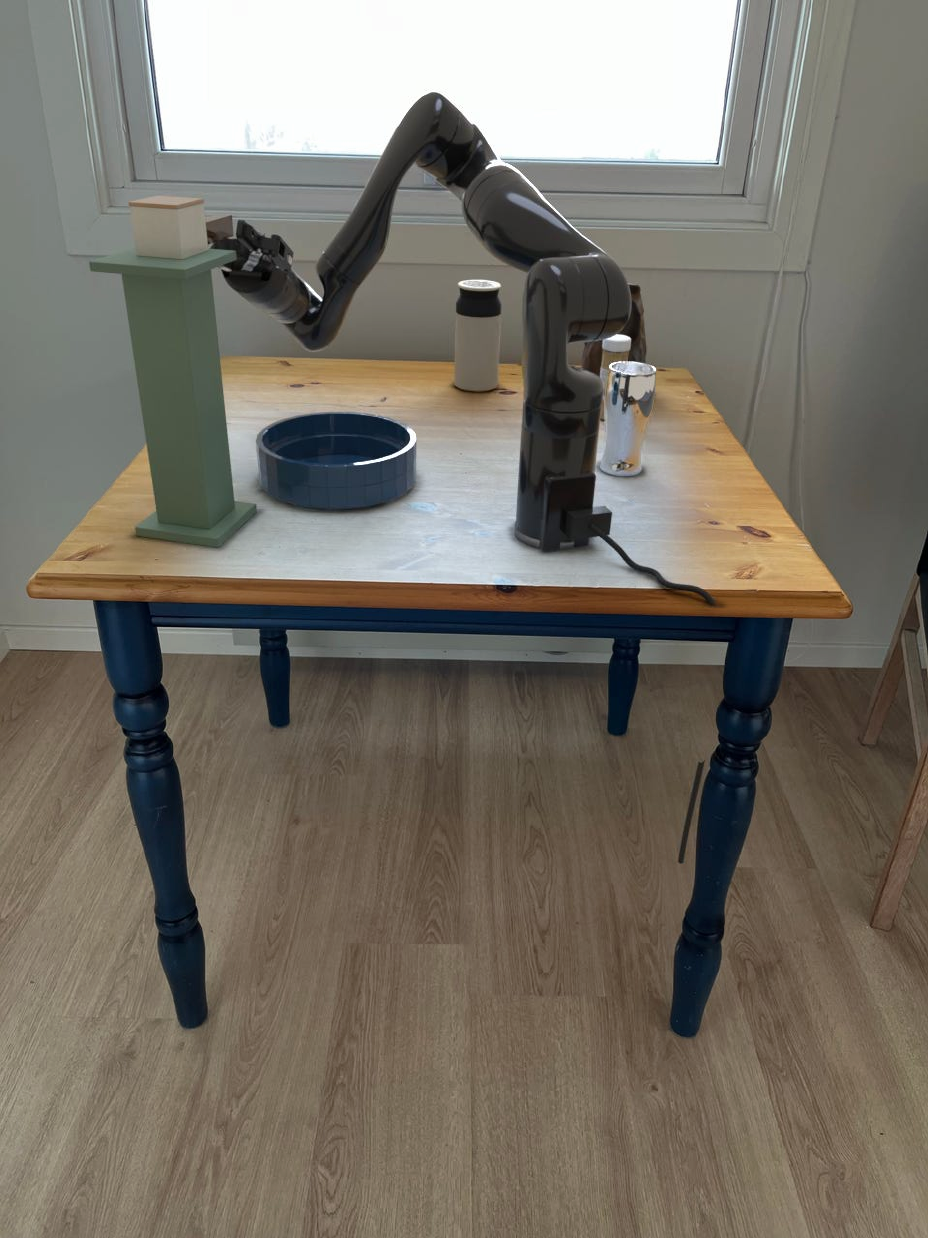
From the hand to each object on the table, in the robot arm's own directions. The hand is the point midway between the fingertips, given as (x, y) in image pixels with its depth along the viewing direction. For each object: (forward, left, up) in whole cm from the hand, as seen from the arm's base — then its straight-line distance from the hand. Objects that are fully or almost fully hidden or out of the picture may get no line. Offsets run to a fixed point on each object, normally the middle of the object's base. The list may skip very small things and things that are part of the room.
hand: (205, 225), depth 111 cm
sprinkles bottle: (+17, -65, -34) cm, 75 cm away
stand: (-8, +5, -34) cm, 35 cm away
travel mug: (+39, -49, -34) cm, 71 cm away
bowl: (+1, -15, -34) cm, 37 cm away
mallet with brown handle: (-3, +2, -2) cm, 4 cm away
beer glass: (-5, -56, -34) cm, 65 cm away
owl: (+29, -73, -34) cm, 85 cm away
